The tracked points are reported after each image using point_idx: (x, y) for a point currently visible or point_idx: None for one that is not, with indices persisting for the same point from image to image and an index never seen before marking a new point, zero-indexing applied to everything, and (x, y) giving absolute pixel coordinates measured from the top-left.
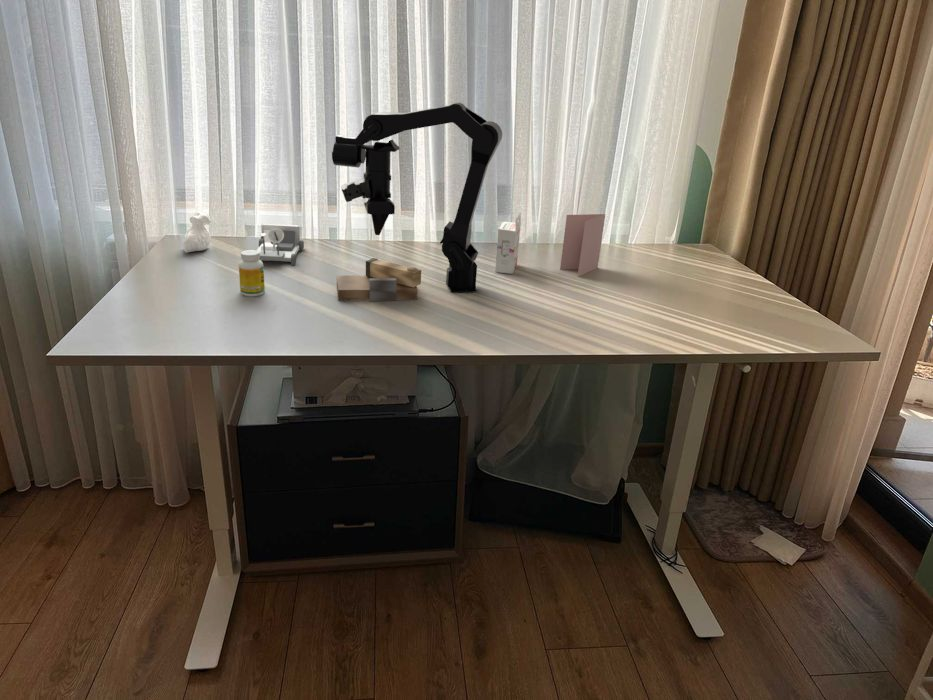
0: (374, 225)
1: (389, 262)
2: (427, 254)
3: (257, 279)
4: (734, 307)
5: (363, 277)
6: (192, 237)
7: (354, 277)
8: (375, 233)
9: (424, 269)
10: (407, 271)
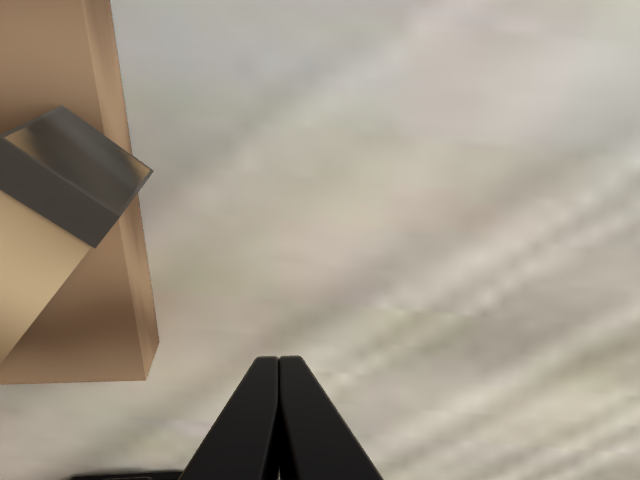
0: (191, 467)
1: (22, 326)
2: (616, 436)
3: None
4: None
5: (45, 84)
6: None
7: (30, 6)
8: (249, 370)
9: (402, 409)
10: None
